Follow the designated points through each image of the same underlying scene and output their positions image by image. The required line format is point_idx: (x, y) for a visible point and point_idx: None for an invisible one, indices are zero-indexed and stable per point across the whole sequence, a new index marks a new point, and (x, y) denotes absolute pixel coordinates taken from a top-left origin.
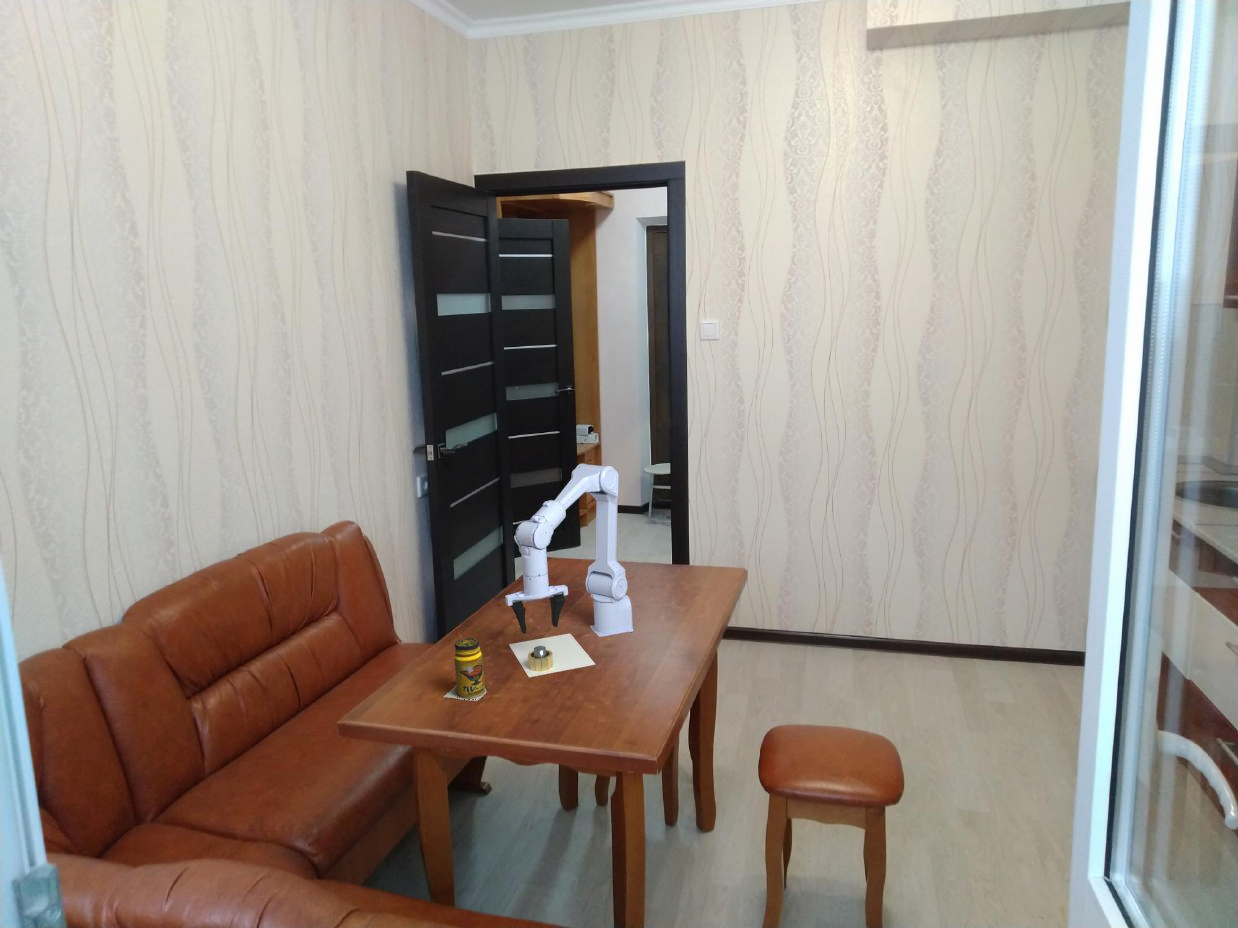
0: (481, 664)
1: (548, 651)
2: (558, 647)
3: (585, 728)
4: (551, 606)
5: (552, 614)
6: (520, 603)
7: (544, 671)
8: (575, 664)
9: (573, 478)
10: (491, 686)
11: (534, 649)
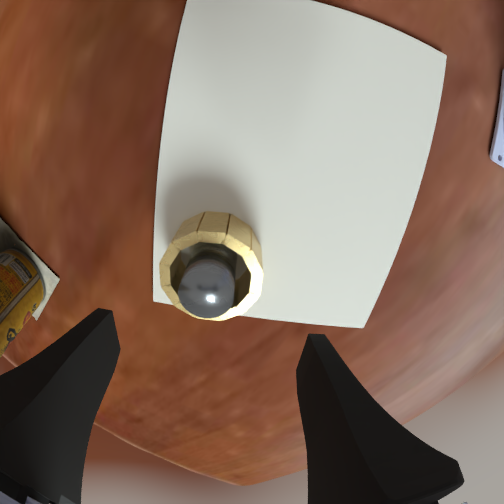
0: (5, 347)
1: (252, 274)
2: (356, 133)
3: (200, 454)
4: (340, 438)
5: (321, 397)
6: (37, 501)
7: None
8: (319, 303)
9: None
10: (58, 275)
11: (179, 295)
